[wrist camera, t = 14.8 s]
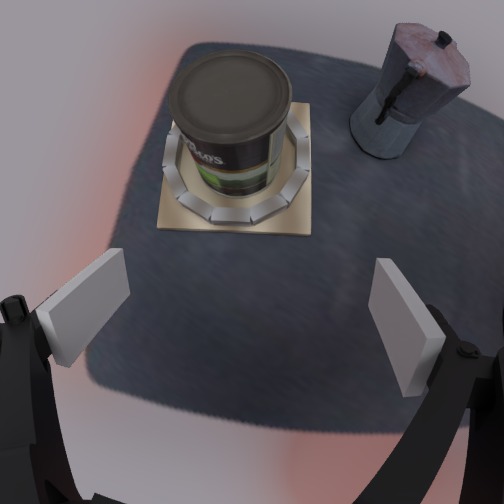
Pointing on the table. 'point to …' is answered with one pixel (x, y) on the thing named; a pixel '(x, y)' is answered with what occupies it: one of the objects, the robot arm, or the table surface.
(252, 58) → the coffee can
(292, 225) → the ring board
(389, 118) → the moka pot
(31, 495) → the robot arm
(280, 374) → the table surface
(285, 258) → the table surface
